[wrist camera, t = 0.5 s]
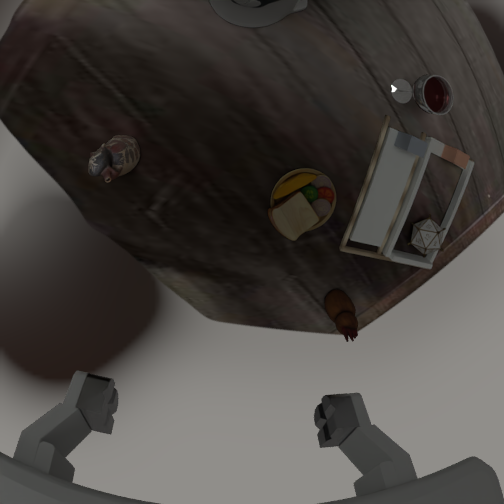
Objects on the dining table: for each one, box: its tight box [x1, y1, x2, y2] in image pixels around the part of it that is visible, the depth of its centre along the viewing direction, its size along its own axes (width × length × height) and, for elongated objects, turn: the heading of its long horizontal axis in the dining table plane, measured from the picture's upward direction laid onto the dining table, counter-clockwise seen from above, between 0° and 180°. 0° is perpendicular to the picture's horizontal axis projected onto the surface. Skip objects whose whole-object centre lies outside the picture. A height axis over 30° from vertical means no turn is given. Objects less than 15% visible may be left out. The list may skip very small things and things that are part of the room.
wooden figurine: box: [325, 290, 358, 342], centre depth 61 cm, size 7×6×15 cm
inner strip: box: [349, 127, 428, 247], centre depth 52 cm, size 24×8×6 cm, turn 167°
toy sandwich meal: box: [268, 168, 336, 241], centre depth 54 cm, size 12×14×5 cm
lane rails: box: [339, 115, 474, 269], centre depth 56 cm, size 29×26×1 cm
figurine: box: [89, 135, 140, 182], centre depth 43 cm, size 7×7×12 cm
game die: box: [407, 214, 446, 258], centre depth 56 cm, size 9×8×10 cm
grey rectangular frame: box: [382, 137, 474, 269], centre depth 54 cm, size 27×14×5 cm, turn 167°
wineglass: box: [391, 74, 454, 115], centre depth 40 cm, size 7×7×12 cm
